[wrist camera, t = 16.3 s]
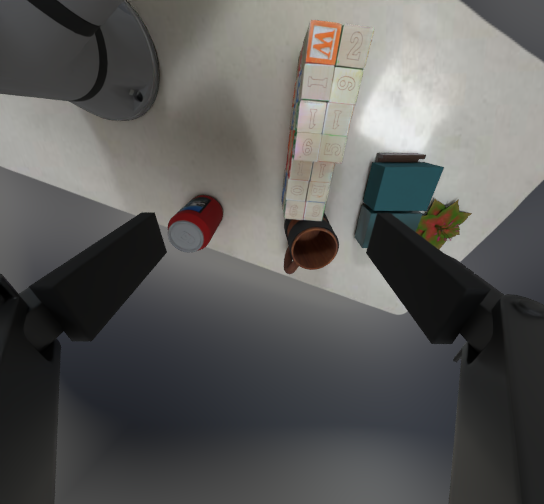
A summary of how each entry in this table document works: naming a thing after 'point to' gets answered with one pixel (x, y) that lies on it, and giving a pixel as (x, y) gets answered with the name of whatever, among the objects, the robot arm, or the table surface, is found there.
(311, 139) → the stack of blocks
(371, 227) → the teal lidded box
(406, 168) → the block
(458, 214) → the lily flower
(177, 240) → the beverage can
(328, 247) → the mug
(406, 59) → the table surface
